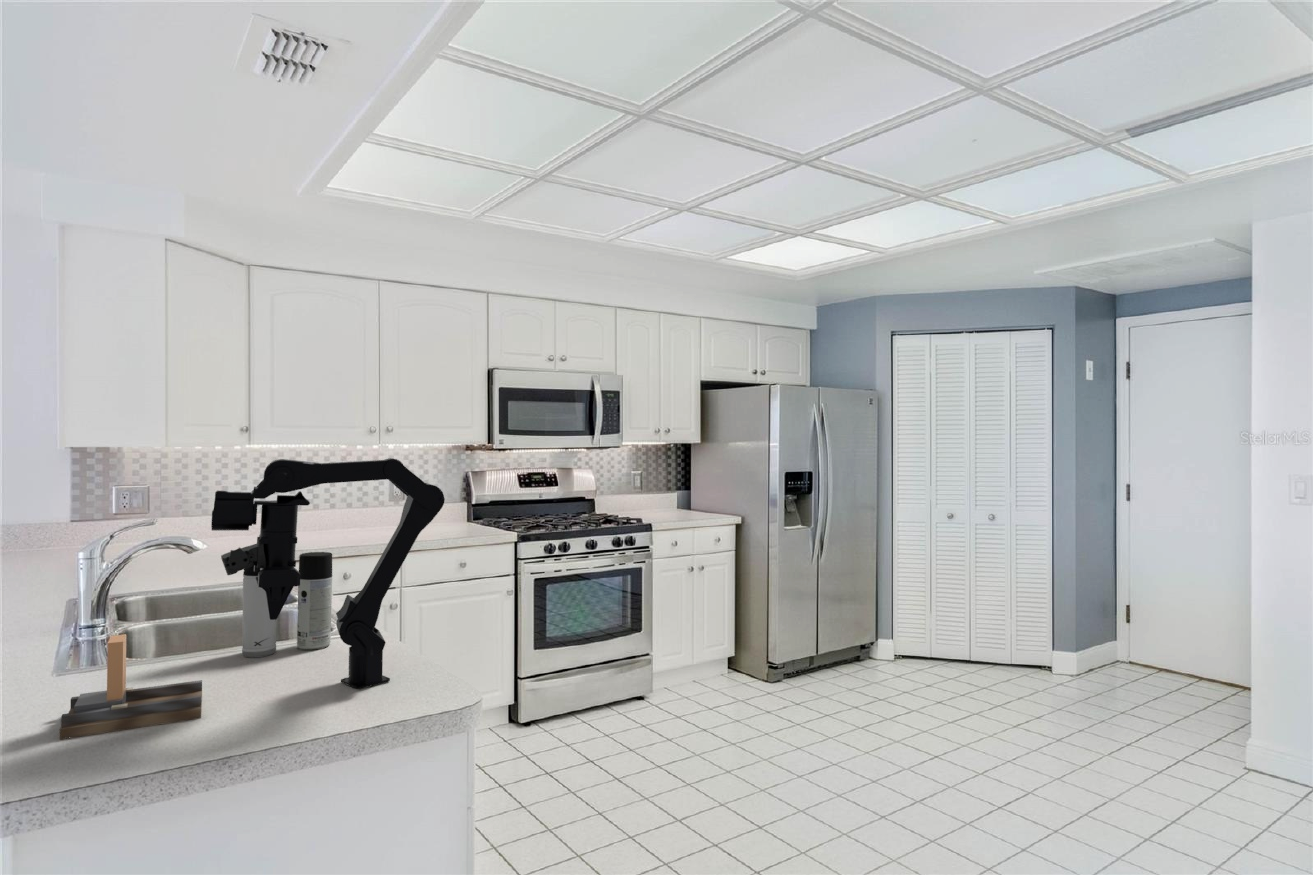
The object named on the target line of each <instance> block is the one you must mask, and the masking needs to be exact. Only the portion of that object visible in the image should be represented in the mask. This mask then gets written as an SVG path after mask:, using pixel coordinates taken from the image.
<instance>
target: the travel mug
mask: <svg viewBox="0 0 1313 875" xmlns="http://www.w3.org/2000/svg"><path fill="white" fill-rule="evenodd" d="M260 571H261V570H258V572H254V566H252V567H249V568H246V569H243V574H242V577H243V578H242V632H241V633H242V642H241V644H242V646H241V647H242V648H241V651H242V654H241V655H242V656H243V657H245V658H250V659H251V658H263V657H267V656H271V655H274V654H275V653H276V652H277V619H276V620H270V617H269V611H268V605H267V598H266V592H265V590H264V589H262V588H260V587H258V584H257V581H256V577H258V573H259V572H260Z"/></svg>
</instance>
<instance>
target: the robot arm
mask: <svg viewBox="0 0 1313 875" xmlns="http://www.w3.org/2000/svg"><path fill="white" fill-rule="evenodd" d="M382 480H386V481H387V480H388V481H389V482H390V483H392V485H394V486H395V487H396V488H397V489H399V491H400V492H402V493H403V494H404V495H405V496H406V500H405V502H404V505H403V508H402V512H401V516H400V520H399V523H398V525H397V527H396V529H395V531H394V533H393V534H392V536H391V537H390V539H389V541H388V543H387V545H386V547H385V549H384V550H383V552H382V553H381V556H380V557H379V559H378V561H377V563H376V564H375V566H374V568H373V569H372V571H371V573H370V575H369V577H368V579H367V580H366V582H365V584H364V586H363V587H362V589H361V590H360V591H359V592H358V593H357V594H356V595H355V596H351V595H349V594H346V596H345V599H344V602H343V604H342V606H341V607H340V609H339V610H338V611H337V612H336V613H335V615H336V617H337V619H336V625H335V626H336V628H337V632H338V635H339V638H340V639H341V641H342V642H343V643H344V644H346V645H347V646H350V647H348V677H344V678H341V679H340V683H342V684H345V685H346V686H348V687H351V688H354V689H356V690H362V689H365V688H369V687H373V686H376V685H380V684H383V683H384V684H385V683H389V682H390V681H391V679H390V677H388V676H386V675H384V674H383V662H384V661H383V659H384V658H383V654H384V653H383V652H384V648H385V646H386V643H387V642H386V640H385V639H384V637H383V635H382V633H381V631H380V630H379V629H378V628H377V627H376V625H377V622H378V619H379V614H380V611H381V606H382V602H383V600H384V598H385V596H386V594H387V593H388V590H389V589H390V587H391V586H392V584H393V582H394V580H395V578H396V577H397V575H398V572H399V571H400V569H401V567H402V565H403V564H404V562H405V560H406V558H407V556H408V554H409V553H410V551H411V549H412V547H413V545H414V544H415V542H416V540H418V539H417V538H418V536H419V535H420V534H421V532H422V531H423V530H424V529H425V528H426V527H427V526H428V525H429V524H430V523H432V521H433V520H434V518H436V516H437V515H438V513H440V511H441V510H442V508H444V507H443V506H444V504H445V494H444V492H443V491H442V489H441V488H440V487H438V486H437V485H433V484H431V483H427V482H424V480H422V479H421V478H420V477H418V475H416V474H415V473H413V472H412V471H411V470H410V469H408V467H406V466H405V465H404V463H403V462H402V461H401V460H399V459H396V458H391V457H389V458H388V457H387V458H386V459H374V460H373V459H372V460H359V461H357V460H356V461H340V462H336V461H335V462H311V461H304V460H294V459H286V458H279V459H278V458H277V459H274V460H273V461H271V462H269V464H267V465H266V467H265V470H264V471H263V479H262V480H261V481H260V482H259V483H258V484H257V485H256V486H253V490H252V491H251V492H250V491H227V490H216V491H215V494H214V501H213V502H214V504H213V509H212V511H211V526H210V528H211V531H217V532H218V531H227V532H229V531H249V529H250V527H252V526H254V525H257V518H258V506H261V514H260V529H259V530H260V532H259V535H258V536H257V537H256V543H254V544H251V545H247V546H244V547H240V546H239V547H238V548H237V549H231V550H230V551H228V552H226V553H224V554H221V555H220V556H221V558H220V559H221V561H222V564H223V567H224V570H225V572H226V575H227V576H231V575H234V574H237V573H239V571H244V569H246V568H249V567H252V566H254V572H258V570H261V571H260V572H259V573H258V577H256V581H257V584H258V587H260V588H262V589H264V590H265V592H266V598H267V605H268V611H269V617H270V620H276V621H277V619H278V618H279V616H280V613H281V612H282V610H283V608H284V606H285V603H286V602H287V600H288V598H289V597H290V594H291V592H292V591H293V589H294V587H298V586H300V576H301V575H300V573H299V569H297V568H296V567H297V561H296V560H297V559H296V545H297V544H298V537H297V531H298V530H297V529H298V528H297V527H298V514H299V513H298V512H299V509H298V508H299V506H309V505H310V500H309V499H307V498H306V497H305V496H304V495H303V493H302V491H301V490H303V489H306V488H307V489H308V488H310V487H315V486H319V485H323V484H339V483H351V482H352V483H353V482H354V483H355V482H367V481H382ZM299 490H300V491H299ZM296 491H298V492H297V493H296V494H294V495H287V494H286V493H290V492H296ZM275 493H278V495H276V500H265V499H266V498H268V497H270V496H272V495H274V494H275ZM284 493H285V494H286V495H285V494H284ZM279 494H282V495H279ZM283 494H284V495H283ZM256 499H257V500H256ZM258 499H260V500H258ZM263 499H264V500H263Z"/></svg>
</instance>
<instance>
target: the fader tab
mask: <svg viewBox="0 0 1313 875" xmlns="http://www.w3.org/2000/svg"><path fill="white" fill-rule="evenodd" d="M106 647H107V650H106V651H107V653H106V655H107V658H106V660H107V663H106V668H107V670H106V672H107V673H106V690H100V691H91V692H85V693H80V694H79V695H78V696H79V698H78V700H77V702H76V704H75V706H74V712H81V711H89V710H96V709H103V708H110V707H112V705H119V704H125V702H126V688H127V687H126V686H127V634H125V633H124V634H115V635H111V636H110V637H109V639H108V641H107V646H106Z"/></svg>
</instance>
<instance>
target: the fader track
mask: <svg viewBox="0 0 1313 875" xmlns="http://www.w3.org/2000/svg"><path fill="white" fill-rule="evenodd" d="M79 696H80V695H78V696H72V697H71V698H70V704H69V705H70V706H69V707H70V709H69V711H68V713H63V714H62V715H61V717H60V719H61V720H60V722H61V723H60V728H59V740H64V739H63V738H66V739H70V738H69V737H73V738H77V737H78V738H79V737H84V736H90V735H97V734H105V733H111V732H116V731H117V732H118V731H123V730H124V731H125V730H132V729H137V728H144V727H150V726H158V725H163V724H169V723H176V722H177V723H178V722H182V721H183V722H184V721H191V720H198V719H202V704H203V702H202V701H203V680H202V679H201V680H199V679H198V680H194V681H193V680H192V681H186V682H185V681H184V682H178V683H171V684H170V683H169V684H163V685H155V686H146V687H138V688H134V687H126V702H125V704H119V705H112V707H110V708H103V709H96V710H89V711H81V712H74V706H75V704H76V702H77V700H78V698H79Z"/></svg>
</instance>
